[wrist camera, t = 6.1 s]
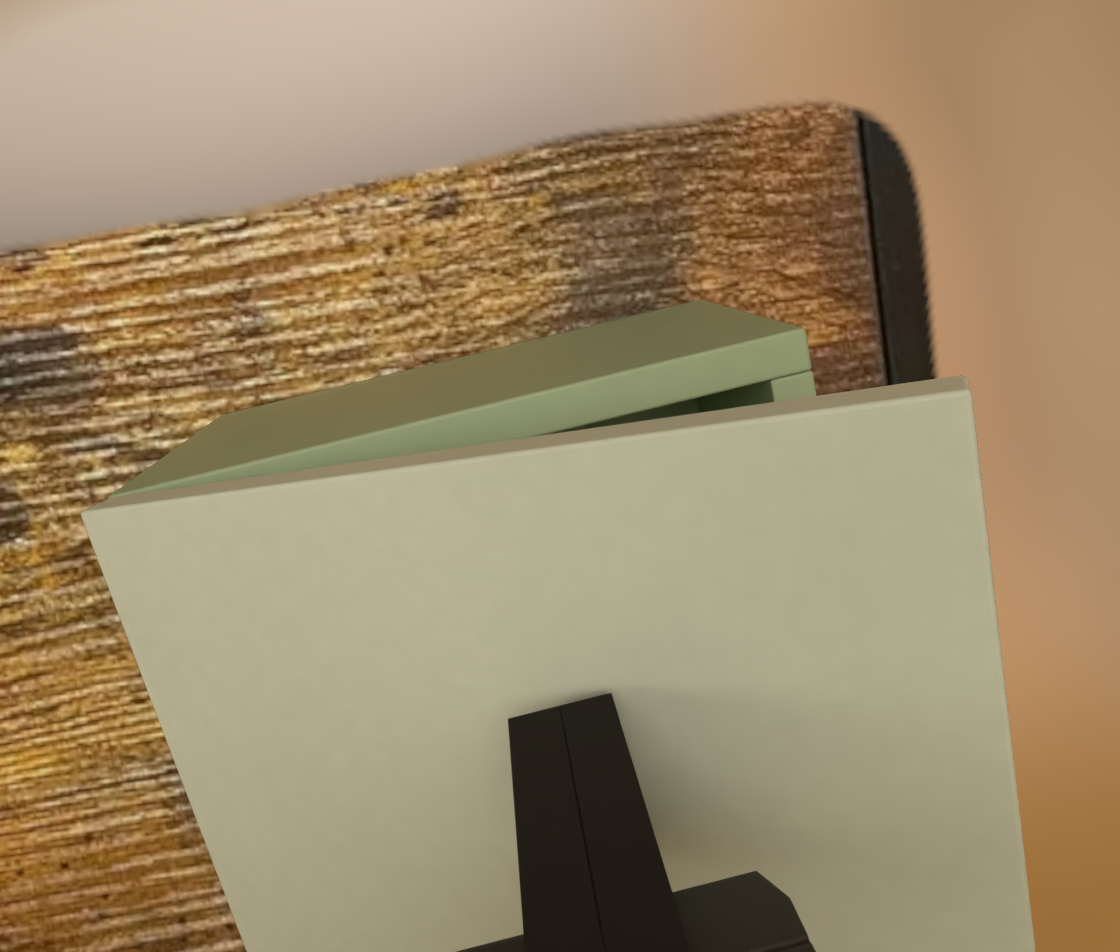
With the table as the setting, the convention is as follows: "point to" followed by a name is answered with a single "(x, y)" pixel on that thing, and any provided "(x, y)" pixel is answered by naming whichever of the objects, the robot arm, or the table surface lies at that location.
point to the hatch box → (509, 395)
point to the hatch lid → (594, 669)
